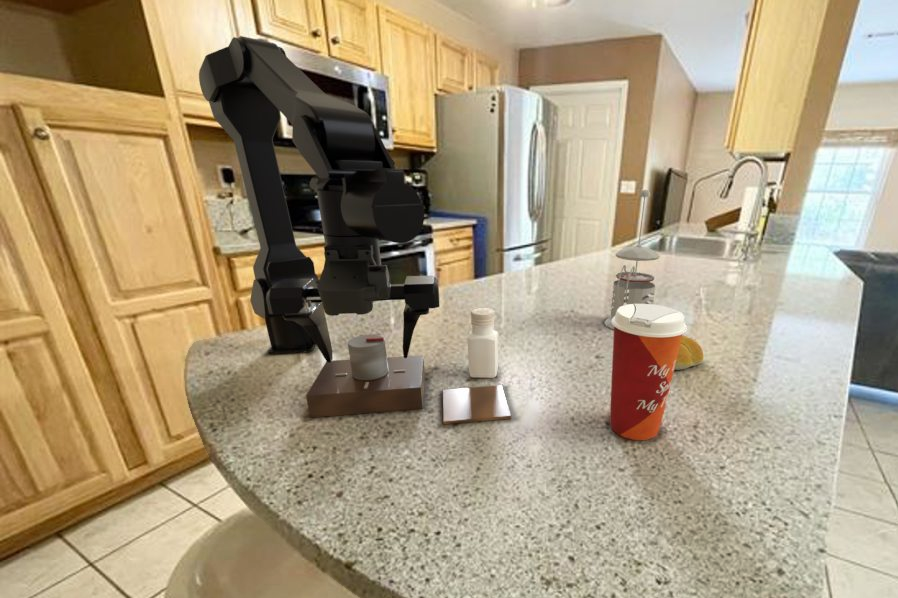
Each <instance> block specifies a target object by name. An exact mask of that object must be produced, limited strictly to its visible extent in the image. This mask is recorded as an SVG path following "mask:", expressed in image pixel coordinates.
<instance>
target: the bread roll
mask: <svg viewBox="0 0 898 598" xmlns="http://www.w3.org/2000/svg"><path fill="white" fill-rule="evenodd" d="M703 360H704V352H703V349H702V346H701V345H700V344H699V343H698V342H697V341H696V340H694V339H693V338H692V337H689V336H687V335H682V338H681V343H680V347H679V351H678V355H677V359H676V364H675V368H674V371H676V370H677V371H681V370H685V369H688V368H691V367H695V366H698V365H700V364H702V362H703Z"/></svg>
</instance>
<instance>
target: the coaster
mask: <svg viewBox="0 0 898 598" xmlns="http://www.w3.org/2000/svg"><path fill="white" fill-rule="evenodd" d="M503 387H504V386H503V385H488V386H487V385H486V386H475V387H473V386H472V387H460V388H459V387H458V388H448V389H447V388H446V389H442V419H443V420H442V422H443V423H442V424H443V425H452V424H453V425H454V424H463V423H465V424H466V423H475V422H487V421H497V420H508V419H512V414H511V410H510V407H509V404H508V401H507V398H506V393H505V391H504V388H503Z"/></svg>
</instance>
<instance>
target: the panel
mask: <svg viewBox="0 0 898 598" xmlns="http://www.w3.org/2000/svg"><path fill="white" fill-rule="evenodd" d="M387 363H388V373H387V374H386V375H385V376H383V377H381V378H378V379H374V380H358V379H355V378H354V377H353V375H352V369H351V363H350V359H333V360H332V362H330V363H328V362H327V361H326V360H325V363H324V364H323V366H322V368H321V370H320V371H319V373H318V374H317V376H316V378H315V380H314V381H313V383H312V385H311V386H310V388H309V390H308V391H307V393H306V395H305V398H306V403H307V407H308V412H309V417H310V418H311V419H312V418H324V417H335V416H347V415H349V416H350V415H361V414H374V413H375V414H376V413H384V412H387V413H388V412H399V411H410V410H411V411H413V410H422V409H423V408H424V396H425V395H424V394H425V382H426V381H425V380H426V369H425V368H426V367H425V356H424V355H423V354H421V355H408V356H407V358H404V355H403V356H390V357H389V356H387Z"/></svg>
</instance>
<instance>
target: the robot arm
mask: <svg viewBox="0 0 898 598" xmlns="http://www.w3.org/2000/svg"><path fill="white" fill-rule="evenodd" d="M198 81H199V86H200V90H201V93H202V95H203V98H204V99H205V101H206V102H208V104H209V107H210V110H211V113H212V115H213V116H212V117H213V118H214V121H216V122H217V123H218V125H220V127H221V128H222V129H223V131H225V133H227V135H228V136H229V137H230V138H231V139H232V141H233V144H234V148H235V152H236V156H237V160H238V164H239V168H240V171H241V175H242V180H243V183H244V187H245V192H246V195H247V199H248V203H249V207H250V211H251V216H252V219H253V223H254V227H255V231H256V235H257V240H258V243H259V247H260V249H259V251H258V254H257V256H256V258H255V261H254V263H253V265H252V269H253V275H254V279H253V282H252V288H251V293H250V297H249V298H250V300H249V302H250V305H251V307H252V311H253V313H254V314H255V315H257V316H259V317H261V318H262V319H264V322H265V326H266V330H267V335H268V340H269V343H270V347H269V348H268V349H267V351H266V352H267V354H269V355H272V354H273V355H274V354H275V355H276V354H291V353H292V354H293V353H294V354H295V353H309V352H312V351H313V350H314V348H315V347H316V348H317V349H318V350H319V352H320V354H321V355H322V356H323V358H324V359H325V362H326V361H327V362H328V363H330V362H332V361H333V360H334V358H333V357H334V356H333V347H332V342H331V337H330V332H329V327H328V323H327V318H326V315H327V316H333V317H335V316H339V315H347V314H356V315H358V316H359V315H360V316H361V315H367V314H370V312H372V311H373V309H374V301H375V302H376V301H377V302H378V301H402V300H403V301H404V303H405V304H404V308H403V314H402V315H403V317H402V318H403V330H402V354H403V356H404V358H407V356H409V351H410V347H411V343H412V339H413V334H414V331H415V329H416V326H417V323H418V321H419V319H420V317H421V316H426V315H428V314H429V313H430V309H437V308H440V287H439V285H440V284H439V279H438V278H437V277H436V276H435V275H406V277H405V280H404V283H393V284H392V283H391V277H390V271H389V269H388V265H386V264H382V258H381V252H380V251H381V249H380V242H379V240H380V241H385V242H391V243H396V244H406V243H408V242H411V241H413V240H415V238H416V237H418V235H419V233H421V230H422V229H423V226H424V223H425V214H426V213H425V212H426V211H425V206H424V204H423V203H422V200H421V197H420V196H419V194H418V192H417V191H416V190H415V189H414V188H413V186H411V185H409V184H408V183H406V182H405V173H404V170H403V168H396V167H395V164H396V162H395V161H394V159H393V158H392V157H391V155H390V153H389V152H388V150H387V148H386V146H385V143H384V141H383V140H382V138H381V135H380V134H379V131H378V130H377V128H376V125H375V123H374V120H373V119H372V118H371V116H370V115H369V113H368V112H366V111H364V110H363V109H361V108H359V107H357V106H355V105H353V104H351V103H349V102H347V101H344V100H341V99H339V98H335V97H333V96H330V95H328V94H327V93H325V92H324V91H323V90H322V89H321V88H320V87H319V86H318V85H317V84H315V83H314V82H313V81H312V80H311V78H310V77H308V76H307V74H305V73H304V72H303V71H302V70H301V69H300V68H299V67H298V66H297V65H296V64H295V63H294V62H293V61H292V60H291V59H290V58H289V57H287V54H286V51H285V49H284V48H283V47H281V46H278V45H277V44H276V43H274V42H271V41H266V40H261V39H257V38H252V37H249V36H243V35H240V36H238V37H236V36H234V37H233V38H231V40H230V42H229V44H228V46H226V47H223V48H221V49H218V50H216V51H214V52H211V53H208V54H206V55H205V56H204V58H203V60H202V64H201V66H200V68H199V71H198ZM281 114H282V116H283V117H285V118H286V119H287V120H288V121H289V123H290V124H291V126H292V132H291V134H292V135H291V141H292V143H293V144H294V145H295V147H296V149H297V150H298V153H299V154H300V155H301V156H302V158H303V159H304V160H305V162H306V163H307V164H308V165H309V167H310V168H311V169H312V170H313V172H314V173H315V175H314V176H312V177H311V179H310V182H309V188H310V189H312V190H316V197H317V203H318V209H319V215H320V221H321V227H322V233H323V239H324V244H325V245H324V246H323V249H324V250H323V251H324V255H323V256H324V264H323V269H322V271H321V274H320V277H318V275H317V273H316V271H315V270H316V269H315V263H314V261H313V260H312V258H311V257H310V256H307V255H305V253H303V251H302V250H301V249H300V248H299V247H298V245H297V243H296V239H295V235H294V229H293V226H292V220H291V216H290V212H289V211H290V210H289V208H288V202H287V199H286V198H287V197H286V194H285V189H284V186H283V181H282V176H281V171H280V167H279V162H278V158H277V154H276V149H275V144H274V136H275V134H276V131H277V130H278V126H279V124H280V122H281V119H282V118H281V117H282V116H281Z"/></svg>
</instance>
